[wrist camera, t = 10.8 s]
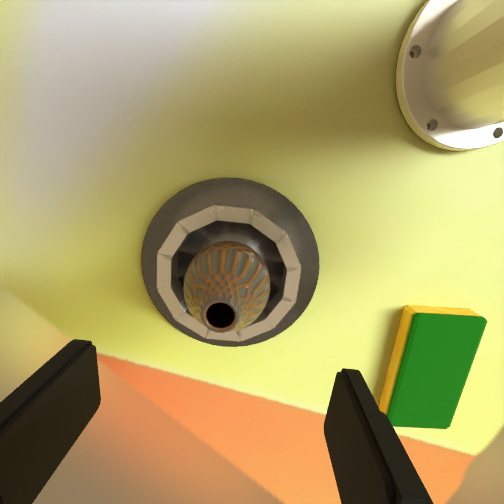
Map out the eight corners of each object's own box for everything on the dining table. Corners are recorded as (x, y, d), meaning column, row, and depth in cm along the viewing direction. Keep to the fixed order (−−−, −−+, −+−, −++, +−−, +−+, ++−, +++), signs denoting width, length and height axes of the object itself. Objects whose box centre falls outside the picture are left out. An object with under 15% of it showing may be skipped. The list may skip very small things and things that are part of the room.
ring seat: (332, 188, 23) (343, 189, 20) (302, 348, 27) (308, 368, 24) (143, 168, 22) (127, 165, 19) (145, 334, 27) (132, 352, 24)
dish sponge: (468, 307, 26) (489, 319, 24) (434, 410, 30) (449, 430, 28) (402, 302, 26) (416, 314, 24) (375, 407, 30) (386, 427, 28)
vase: (199, 304, 25) (172, 366, 16) (190, 236, 23) (155, 267, 15) (269, 300, 25) (278, 360, 16) (265, 231, 23) (273, 259, 14)
